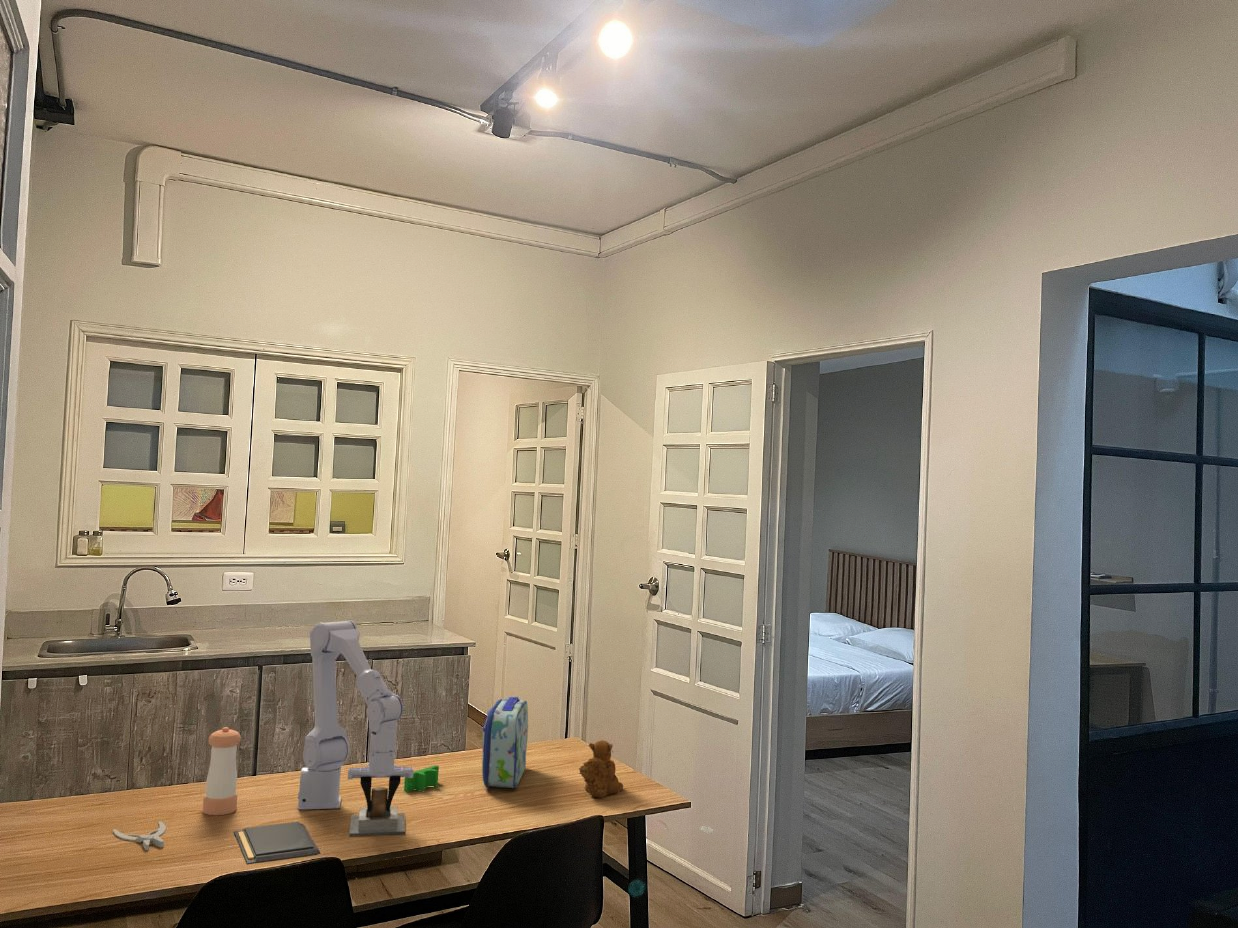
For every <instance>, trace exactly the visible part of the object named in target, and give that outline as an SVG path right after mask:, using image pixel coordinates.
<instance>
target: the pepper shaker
mask: <svg viewBox="0 0 1238 928" xmlns="http://www.w3.org/2000/svg"><path fill="white" fill-rule="evenodd" d="M241 740H242V735H241V734H240V733H239V732H238V731H236V730H234V729H230V728H229V727H228V726H224V727H222V728H221V729H219V730H216V731H214V732H212V733H211V734H210V736H209V737H208V744H209V745H210V746H211V750H210V760H209V761H210V763H209V768H208V772H207V776H206V777H207V778H206V782H205V794H204V795H203V799H202V800H203V803H202V813H203V814H205V815H209V816H221V815H228V814H232V813H234V812H235V811H236V810H237V806H238V793H237V783H238V773H237V749H238V745H239V744H240V742H241Z"/></svg>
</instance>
